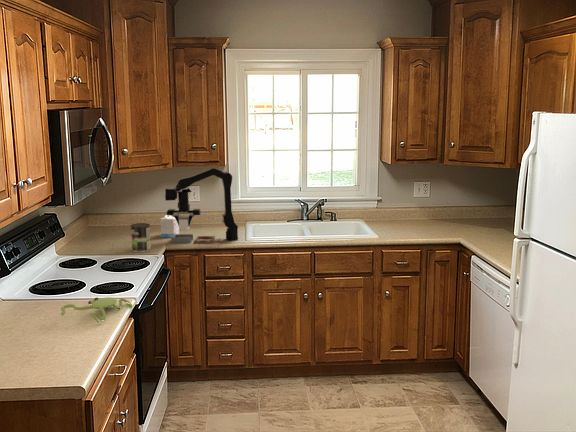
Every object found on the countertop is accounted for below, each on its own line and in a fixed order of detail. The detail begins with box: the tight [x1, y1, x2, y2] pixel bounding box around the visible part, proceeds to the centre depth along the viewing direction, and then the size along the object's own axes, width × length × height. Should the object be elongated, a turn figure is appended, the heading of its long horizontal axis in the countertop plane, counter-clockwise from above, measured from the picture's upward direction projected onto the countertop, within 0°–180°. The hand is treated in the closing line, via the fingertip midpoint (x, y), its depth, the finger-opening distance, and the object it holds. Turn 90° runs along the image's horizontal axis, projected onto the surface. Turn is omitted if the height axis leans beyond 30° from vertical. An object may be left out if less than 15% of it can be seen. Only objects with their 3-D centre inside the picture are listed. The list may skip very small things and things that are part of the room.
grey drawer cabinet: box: [170, 233, 194, 244], centre depth 357 cm, size 11×11×4 cm
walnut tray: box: [194, 235, 216, 244], centre depth 357 cm, size 10×12×2 cm
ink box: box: [160, 214, 180, 239], centre depth 370 cm, size 9×8×13 cm
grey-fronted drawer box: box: [179, 215, 190, 231], centre depth 355 cm, size 5×7×7 cm
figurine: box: [60, 296, 133, 323], centre depth 238 cm, size 18×27×6 cm
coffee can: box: [130, 222, 152, 253], centre depth 337 cm, size 10×10×14 cm
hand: (184, 226), depth 356 cm, fingers closed on grey-fronted drawer box, 5 cm apart
